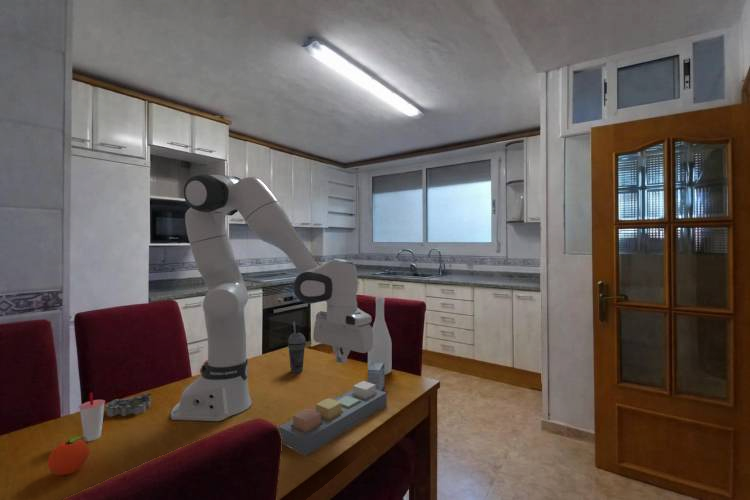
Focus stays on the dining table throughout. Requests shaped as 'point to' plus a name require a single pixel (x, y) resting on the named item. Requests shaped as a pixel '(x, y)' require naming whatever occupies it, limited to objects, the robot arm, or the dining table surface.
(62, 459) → the clementine
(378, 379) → the medicine box
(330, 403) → the button mustard
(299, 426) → the button terracotta
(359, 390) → the button cream
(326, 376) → the dining table surface
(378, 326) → the grey bottle
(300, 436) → the tray
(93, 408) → the cup
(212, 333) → the robot arm
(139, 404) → the egg carton
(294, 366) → the beverage cup
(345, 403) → the button sage
